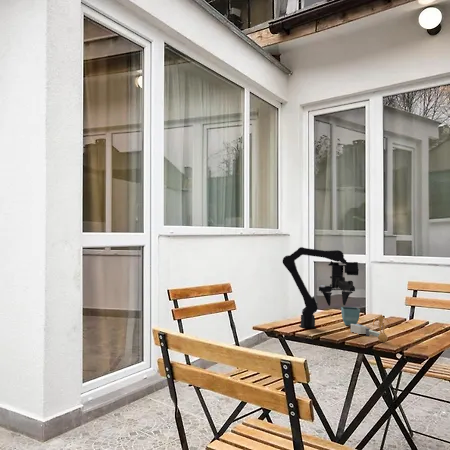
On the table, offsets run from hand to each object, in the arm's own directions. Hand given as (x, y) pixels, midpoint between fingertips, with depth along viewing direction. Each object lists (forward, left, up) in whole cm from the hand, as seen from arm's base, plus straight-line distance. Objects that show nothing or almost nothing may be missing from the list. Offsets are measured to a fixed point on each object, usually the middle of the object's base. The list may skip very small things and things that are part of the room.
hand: (336, 305), depth 238 cm
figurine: (+2, -31, -12) cm, 33 cm away
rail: (+7, -12, -12) cm, 18 cm away
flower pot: (+15, +8, -12) cm, 21 cm away
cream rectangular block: (+4, -12, -12) cm, 18 cm away
